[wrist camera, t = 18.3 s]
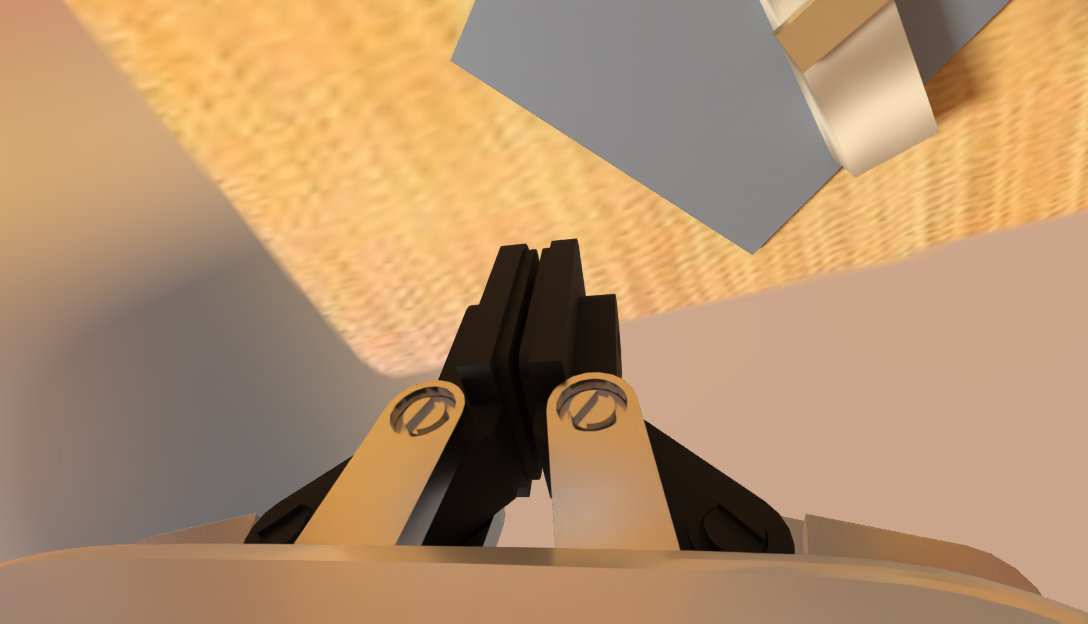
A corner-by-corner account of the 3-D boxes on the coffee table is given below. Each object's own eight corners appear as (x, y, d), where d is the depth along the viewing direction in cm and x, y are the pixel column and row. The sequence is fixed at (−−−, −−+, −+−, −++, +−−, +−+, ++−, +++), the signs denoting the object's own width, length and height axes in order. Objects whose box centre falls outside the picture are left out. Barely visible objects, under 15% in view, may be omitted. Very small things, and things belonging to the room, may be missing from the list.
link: (683, -119, 25) (693, -130, 22) (803, -229, 22) (832, -258, 19) (820, 164, 32) (841, 185, 29) (921, 107, 29) (955, 123, 27)
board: (638, -380, 21) (639, -391, 20) (1016, -18, 26) (1026, -17, 26) (453, 58, 31) (450, 60, 31) (750, 249, 37) (752, 254, 36)
